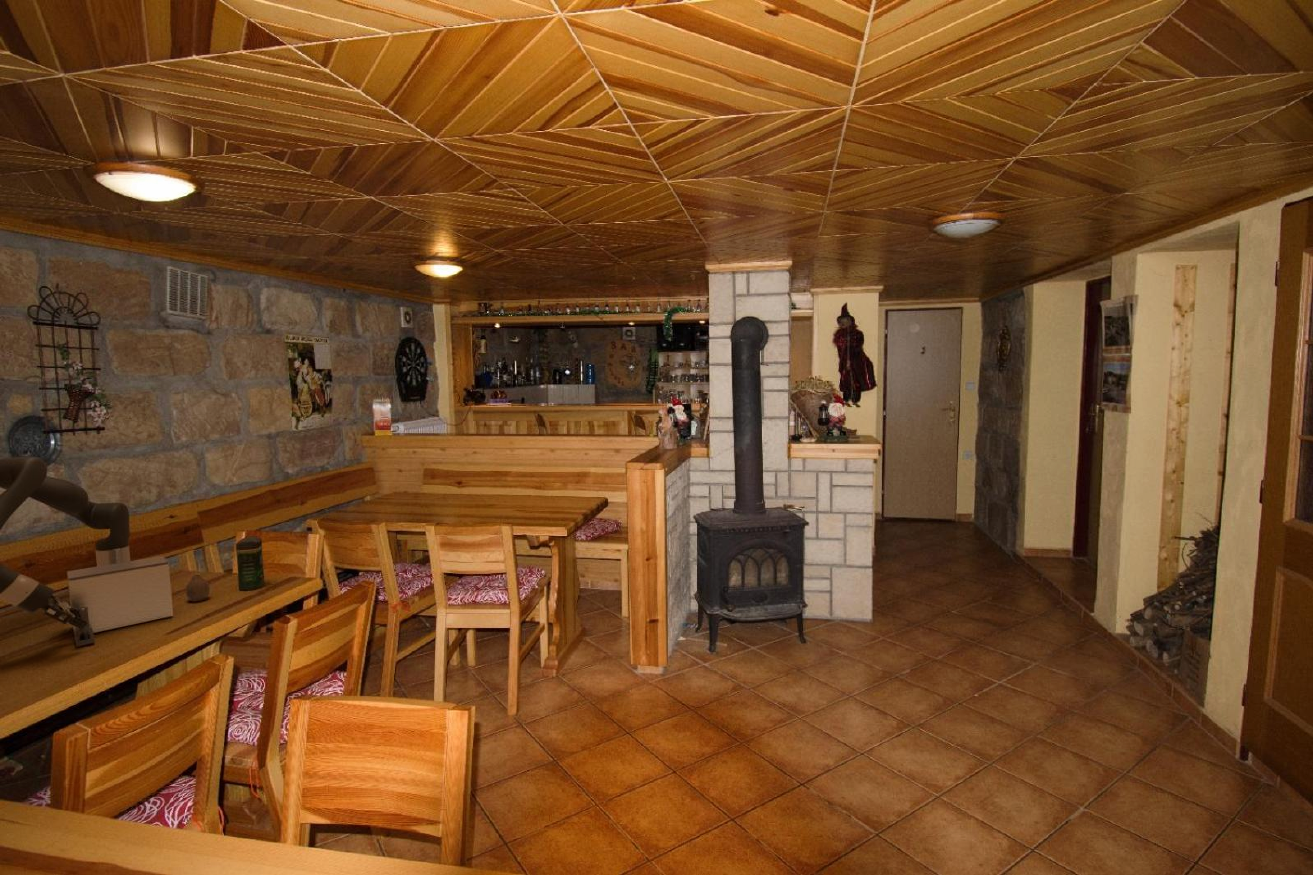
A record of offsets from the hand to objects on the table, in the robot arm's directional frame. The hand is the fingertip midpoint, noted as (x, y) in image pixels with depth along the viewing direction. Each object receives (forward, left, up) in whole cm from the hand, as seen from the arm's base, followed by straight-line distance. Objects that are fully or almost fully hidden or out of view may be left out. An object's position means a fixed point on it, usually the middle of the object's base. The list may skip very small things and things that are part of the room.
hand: (84, 621), depth 192 cm
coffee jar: (-25, +48, -7) cm, 55 cm away
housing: (-15, +10, -7) cm, 19 cm away
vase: (-22, +31, -7) cm, 39 cm away
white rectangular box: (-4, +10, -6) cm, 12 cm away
